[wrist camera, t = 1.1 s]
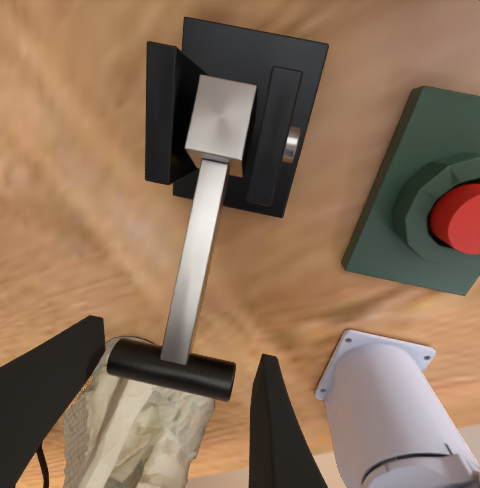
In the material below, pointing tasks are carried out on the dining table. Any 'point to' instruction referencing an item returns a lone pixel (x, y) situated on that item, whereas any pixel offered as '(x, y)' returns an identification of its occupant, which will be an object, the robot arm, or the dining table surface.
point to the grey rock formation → (132, 432)
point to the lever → (197, 246)
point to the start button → (459, 218)
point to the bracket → (267, 111)
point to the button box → (420, 195)
